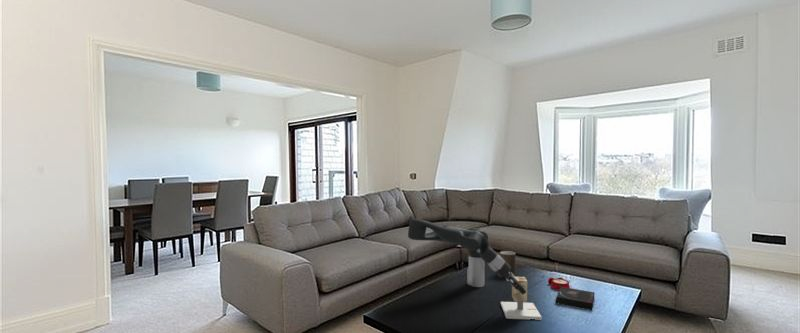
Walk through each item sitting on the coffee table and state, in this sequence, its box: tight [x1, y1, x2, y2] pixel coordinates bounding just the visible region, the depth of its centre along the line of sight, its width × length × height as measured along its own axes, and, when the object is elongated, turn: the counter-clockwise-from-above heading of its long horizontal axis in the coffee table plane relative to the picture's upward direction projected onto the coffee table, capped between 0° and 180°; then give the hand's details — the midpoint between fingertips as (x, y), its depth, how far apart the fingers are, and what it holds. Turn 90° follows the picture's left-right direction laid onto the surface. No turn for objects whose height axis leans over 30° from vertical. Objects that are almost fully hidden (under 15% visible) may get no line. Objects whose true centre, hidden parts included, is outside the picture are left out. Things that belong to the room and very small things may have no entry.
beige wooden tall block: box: [511, 276, 528, 303], centre depth 178 cm, size 6×6×10 cm
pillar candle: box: [499, 250, 517, 277], centre depth 235 cm, size 10×10×15 cm
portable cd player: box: [554, 287, 595, 311], centre depth 191 cm, size 16×17×4 cm
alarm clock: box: [547, 277, 573, 291], centre depth 212 cm, size 10×6×15 cm
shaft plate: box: [500, 301, 543, 321], centre depth 178 cm, size 16×16×8 cm
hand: (523, 290), depth 178 cm, fingers closed on beige wooden tall block, 6 cm apart
